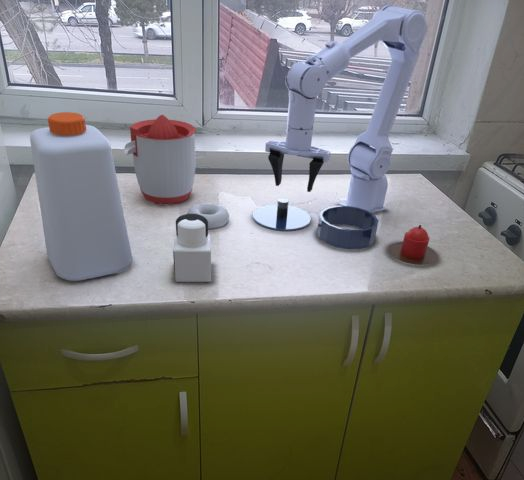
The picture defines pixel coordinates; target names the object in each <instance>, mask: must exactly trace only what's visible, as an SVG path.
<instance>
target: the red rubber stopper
mask: <svg viewBox="0 0 524 480" xmlns="http://www.w3.org/2000/svg"><path fill="white" fill-rule="evenodd" d="M402 242H403V244H402V248H401V253H402V254H403V255H405V256H407V257H410V258H422V257H424V256H425V253H426V250H427V247H429V242H430V236H429V235H428V232H427V230H426V229H425V228H423V227H422V225H421V224H419V225H418V226H413V227H412V228H410V229H409V230H408V231H406V232H405V233H404V236H403V240H402Z"/></svg>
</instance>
